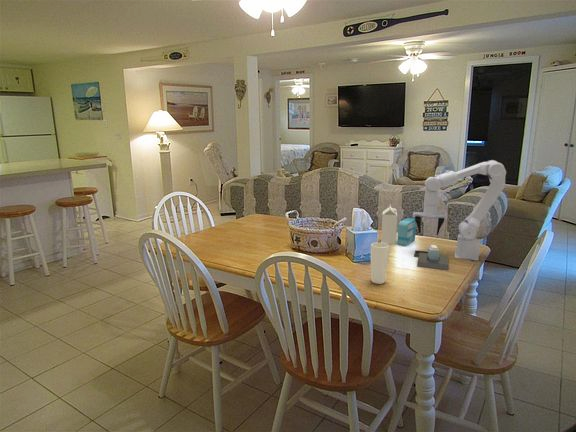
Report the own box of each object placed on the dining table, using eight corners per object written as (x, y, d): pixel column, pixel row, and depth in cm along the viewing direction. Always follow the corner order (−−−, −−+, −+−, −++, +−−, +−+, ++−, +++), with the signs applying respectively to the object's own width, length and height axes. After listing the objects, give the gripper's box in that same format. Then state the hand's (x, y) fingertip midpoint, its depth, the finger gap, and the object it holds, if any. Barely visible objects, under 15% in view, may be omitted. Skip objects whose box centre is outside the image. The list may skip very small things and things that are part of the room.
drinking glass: (367, 278, 160) (368, 242, 156) (384, 277, 161) (385, 241, 157) (372, 285, 154) (373, 248, 150) (389, 284, 154) (391, 247, 150)
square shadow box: (429, 255, 186) (429, 251, 185) (428, 259, 180) (429, 256, 179) (414, 253, 188) (415, 250, 188) (413, 257, 182) (414, 254, 182)
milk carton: (380, 244, 201) (382, 207, 197) (381, 240, 208) (383, 203, 203) (395, 245, 200) (397, 207, 195) (395, 241, 206) (397, 204, 202)
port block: (447, 261, 177) (448, 255, 177) (447, 271, 166) (448, 264, 166) (418, 258, 182) (419, 252, 181) (417, 267, 171) (417, 261, 170)
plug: (435, 263, 176) (437, 245, 174) (438, 266, 172) (439, 247, 170) (427, 263, 176) (428, 245, 174) (429, 266, 172) (431, 247, 170)
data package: (405, 247, 196) (407, 223, 193) (396, 246, 199) (398, 222, 196) (415, 241, 205) (416, 218, 202) (406, 239, 208) (407, 217, 205)
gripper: (448, 203, 182) (445, 232, 185) (414, 201, 187) (412, 229, 190) (448, 206, 176) (445, 236, 179) (413, 204, 181) (411, 233, 184)
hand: (428, 233), depth 184 cm, fingers open, 7 cm apart
